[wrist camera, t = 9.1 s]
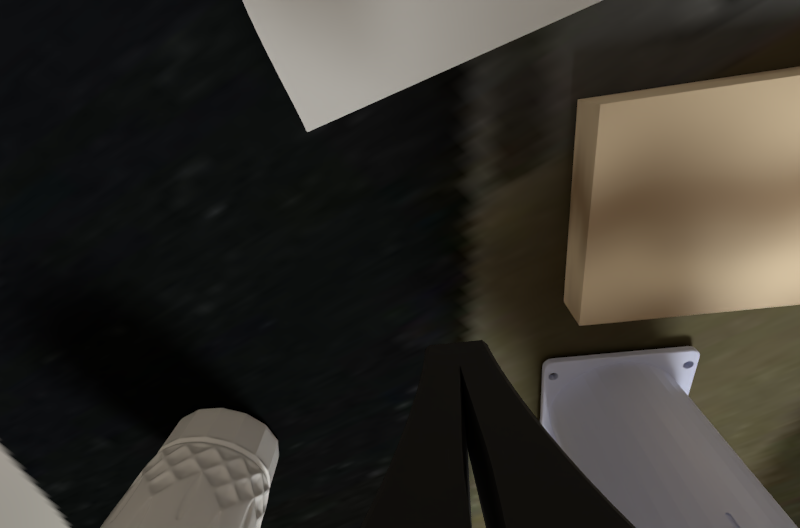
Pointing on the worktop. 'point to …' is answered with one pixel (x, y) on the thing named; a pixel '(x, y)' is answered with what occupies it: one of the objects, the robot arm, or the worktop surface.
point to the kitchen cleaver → (383, 44)
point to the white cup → (204, 476)
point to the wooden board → (686, 200)
